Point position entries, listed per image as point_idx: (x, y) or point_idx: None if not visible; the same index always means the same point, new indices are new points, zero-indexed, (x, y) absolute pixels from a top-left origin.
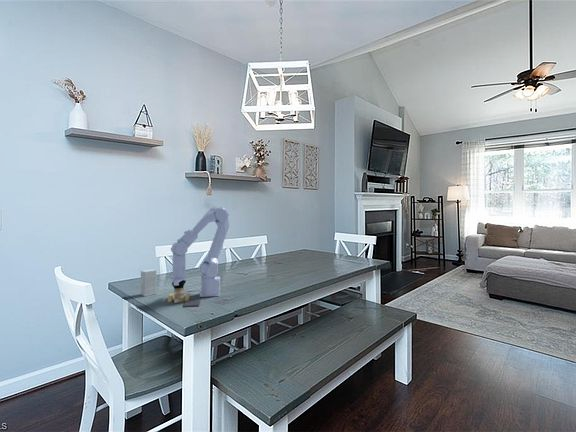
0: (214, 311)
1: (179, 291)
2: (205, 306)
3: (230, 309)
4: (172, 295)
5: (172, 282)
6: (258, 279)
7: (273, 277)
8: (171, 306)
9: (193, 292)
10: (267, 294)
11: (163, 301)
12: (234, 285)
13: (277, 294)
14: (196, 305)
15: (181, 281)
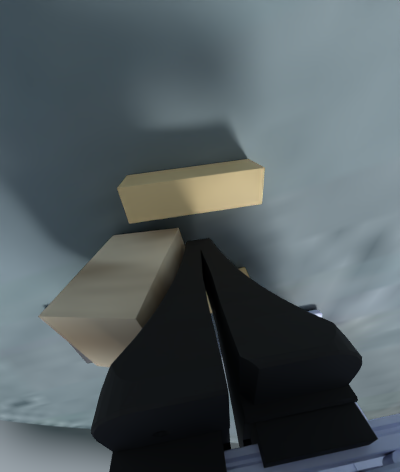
0: (49, 401)
1: (99, 350)
2: (97, 371)
3: (89, 419)
4: (195, 211)
5: (159, 409)
6: (393, 394)
7: (390, 408)
8: (28, 242)
9: (334, 274)
10: (235, 430)
11: (137, 122)
12: (363, 370)
13: (232, 438)
14: (82, 355)
15: (243, 446)
